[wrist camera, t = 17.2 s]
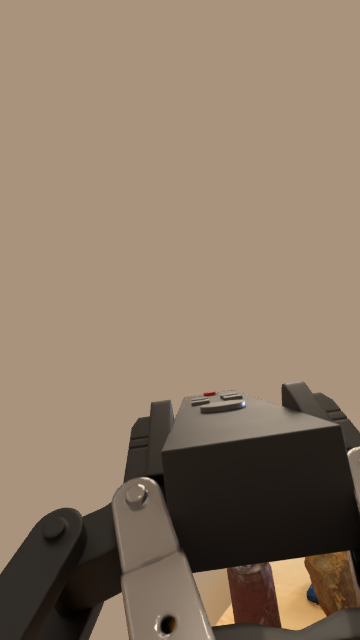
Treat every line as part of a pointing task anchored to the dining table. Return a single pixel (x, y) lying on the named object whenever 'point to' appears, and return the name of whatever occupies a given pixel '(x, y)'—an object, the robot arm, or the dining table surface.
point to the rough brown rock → (332, 581)
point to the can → (254, 594)
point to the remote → (256, 483)
